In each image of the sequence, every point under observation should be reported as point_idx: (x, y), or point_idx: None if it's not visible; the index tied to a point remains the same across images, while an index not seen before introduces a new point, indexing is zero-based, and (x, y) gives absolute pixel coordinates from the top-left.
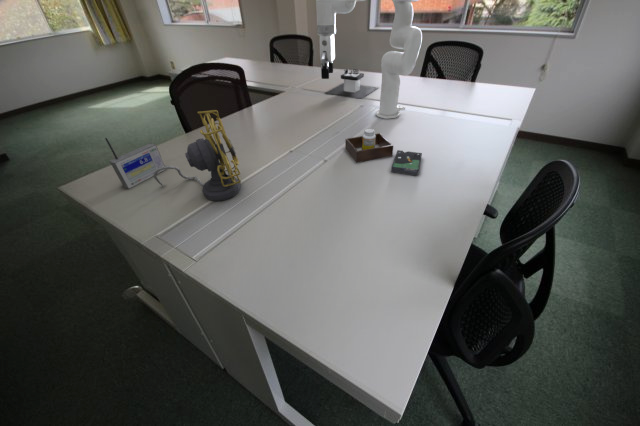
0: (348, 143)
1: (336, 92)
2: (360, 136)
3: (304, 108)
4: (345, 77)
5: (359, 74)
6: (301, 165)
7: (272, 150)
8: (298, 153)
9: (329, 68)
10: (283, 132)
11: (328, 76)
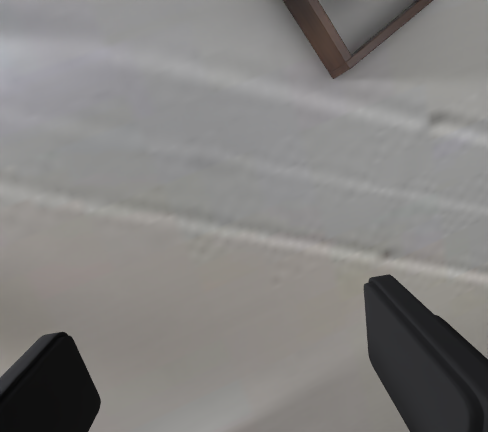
0: (381, 42)
1: None
2: (310, 2)
3: None
4: None
5: None
6: (473, 184)
7: None
8: (395, 227)
9: (44, 426)
10: (259, 335)
11: (406, 291)
